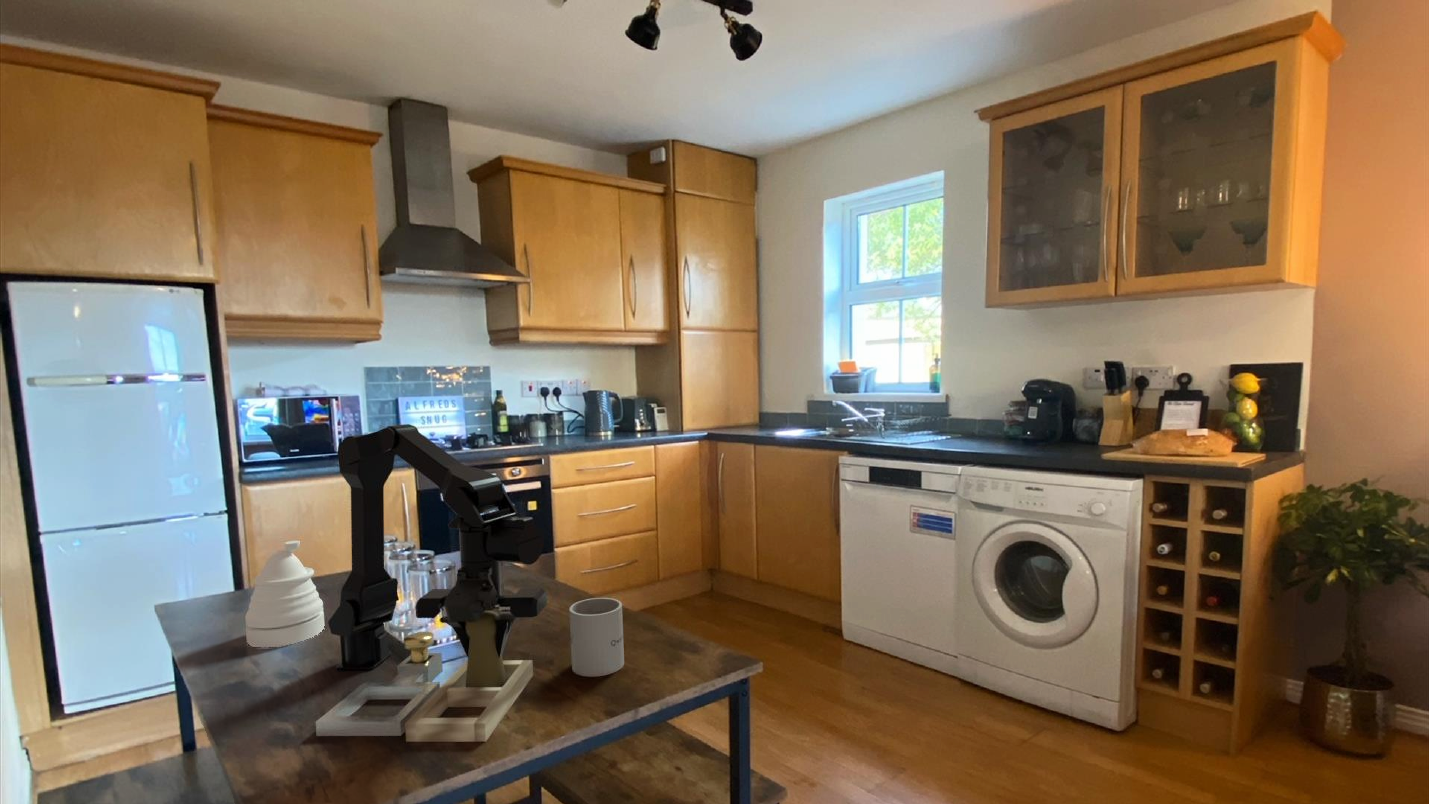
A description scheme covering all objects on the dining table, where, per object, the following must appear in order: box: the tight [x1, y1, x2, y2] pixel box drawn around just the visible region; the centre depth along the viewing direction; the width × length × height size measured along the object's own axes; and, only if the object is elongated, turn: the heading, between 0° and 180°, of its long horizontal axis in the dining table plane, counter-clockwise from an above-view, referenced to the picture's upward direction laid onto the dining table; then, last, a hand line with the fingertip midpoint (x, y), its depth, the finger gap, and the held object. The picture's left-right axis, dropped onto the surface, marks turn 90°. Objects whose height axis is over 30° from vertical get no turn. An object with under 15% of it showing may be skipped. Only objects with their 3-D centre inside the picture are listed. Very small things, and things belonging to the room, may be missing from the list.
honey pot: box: [244, 540, 325, 649], centre depth 134 cm, size 13×13×18 cm
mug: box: [569, 597, 625, 678], centre depth 118 cm, size 12×9×10 cm
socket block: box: [315, 652, 444, 737], centre depth 106 cm, size 12×20×3 cm, turn 177°
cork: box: [465, 610, 507, 687], centre depth 108 cm, size 6×6×11 cm
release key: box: [403, 631, 434, 664], centre depth 114 cm, size 4×4×6 cm
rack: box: [405, 659, 534, 743], centre depth 104 cm, size 11×20×2 cm, turn 177°
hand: (484, 657), depth 108 cm, fingers closed on cork, 4 cm apart
